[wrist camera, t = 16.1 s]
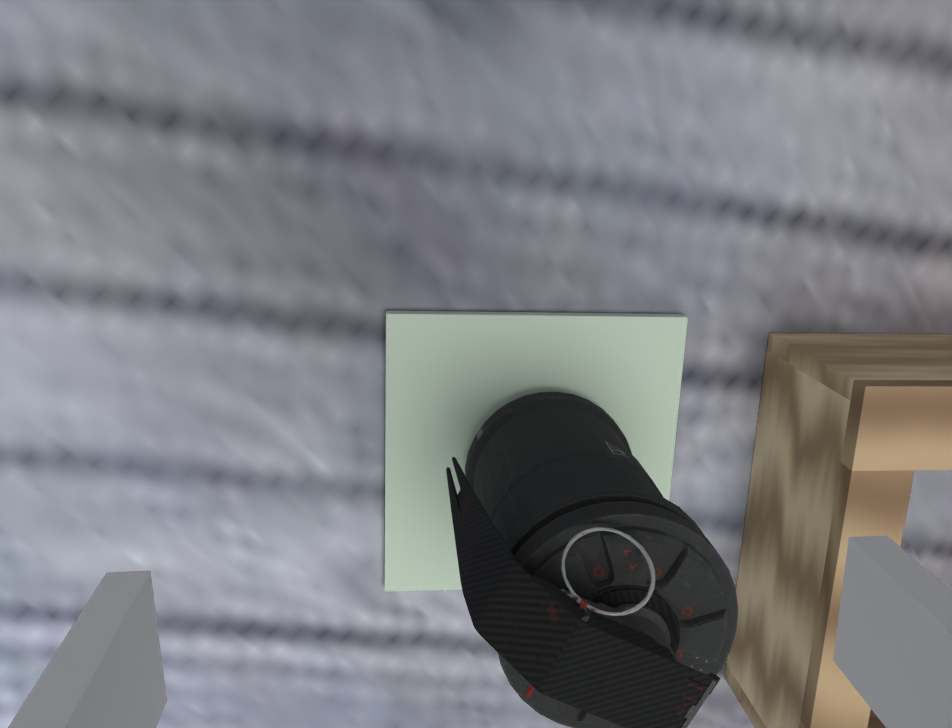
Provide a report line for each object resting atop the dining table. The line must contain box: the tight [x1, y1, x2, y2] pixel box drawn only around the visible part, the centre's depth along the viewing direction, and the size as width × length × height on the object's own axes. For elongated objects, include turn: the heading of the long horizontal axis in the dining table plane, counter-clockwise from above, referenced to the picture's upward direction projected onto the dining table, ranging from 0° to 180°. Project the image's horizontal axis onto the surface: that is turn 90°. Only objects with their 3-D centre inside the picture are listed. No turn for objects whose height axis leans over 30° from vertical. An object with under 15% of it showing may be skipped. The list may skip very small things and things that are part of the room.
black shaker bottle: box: [446, 392, 738, 728], centre depth 37 cm, size 9×11×20 cm
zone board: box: [385, 311, 688, 591], centre depth 47 cm, size 16×16×1 cm
